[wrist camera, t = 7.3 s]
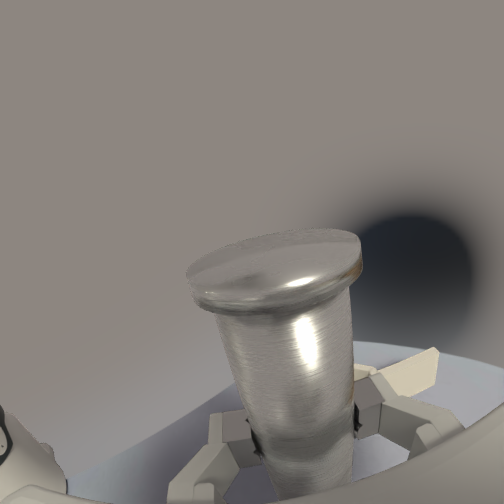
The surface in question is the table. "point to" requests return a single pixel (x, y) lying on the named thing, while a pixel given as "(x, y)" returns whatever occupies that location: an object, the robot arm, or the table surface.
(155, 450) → the table surface
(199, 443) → the table surface
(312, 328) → the hinge pin
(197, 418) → the table surface
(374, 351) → the table surface
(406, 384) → the hinge leaf
